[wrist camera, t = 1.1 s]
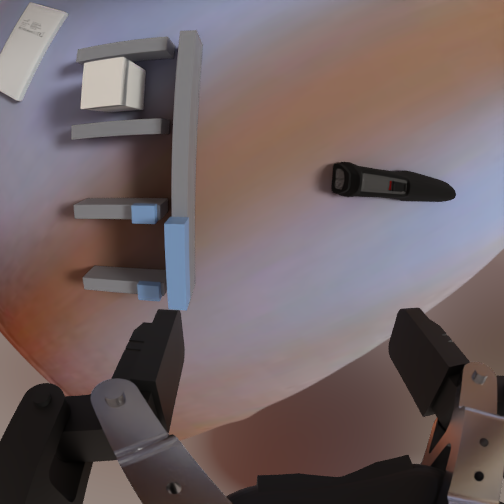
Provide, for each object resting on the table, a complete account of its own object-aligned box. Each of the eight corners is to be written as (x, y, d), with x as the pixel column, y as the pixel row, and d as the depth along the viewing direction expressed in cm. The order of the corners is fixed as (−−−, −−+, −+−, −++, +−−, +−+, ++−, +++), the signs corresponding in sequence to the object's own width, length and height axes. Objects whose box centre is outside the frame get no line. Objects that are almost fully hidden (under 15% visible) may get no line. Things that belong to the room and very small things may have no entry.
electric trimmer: (440, 205, 34) (454, 211, 32) (330, 193, 34) (338, 199, 31) (444, 176, 33) (458, 180, 30) (333, 160, 32) (342, 162, 29)
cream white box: (112, 74, 28) (84, 63, 21) (146, 70, 28) (123, 56, 21) (110, 112, 29) (80, 109, 23) (143, 109, 29) (119, 104, 23)
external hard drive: (-7, 83, 26) (34, 4, 23) (24, 101, 28) (71, 15, 24) (-15, 83, 25) (28, 1, 21) (16, 101, 26) (65, 11, 23)
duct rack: (91, 55, 26) (59, 41, 19) (204, 44, 27) (194, 21, 20) (96, 277, 36) (70, 306, 29) (196, 284, 37) (187, 318, 30)
